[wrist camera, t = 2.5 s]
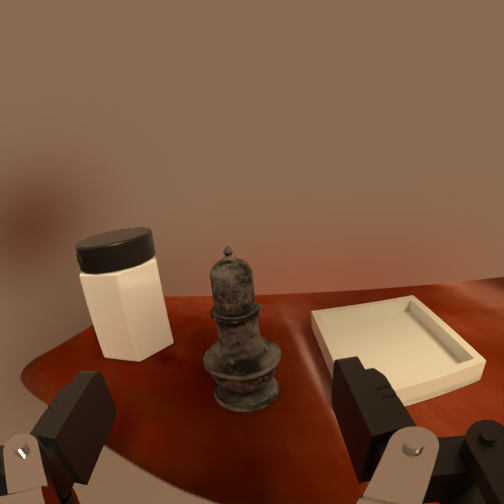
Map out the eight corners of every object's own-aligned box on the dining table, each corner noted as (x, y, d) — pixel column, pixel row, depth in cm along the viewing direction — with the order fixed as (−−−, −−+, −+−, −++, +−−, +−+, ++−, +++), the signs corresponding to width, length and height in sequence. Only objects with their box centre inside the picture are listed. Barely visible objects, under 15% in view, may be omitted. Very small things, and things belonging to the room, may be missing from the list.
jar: (105, 331, 35) (81, 236, 32) (167, 318, 38) (148, 223, 35) (102, 370, 27) (66, 253, 24) (179, 354, 30) (154, 236, 27)
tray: (411, 311, 32) (412, 295, 32) (479, 380, 19) (486, 360, 18) (311, 327, 32) (311, 310, 32) (348, 420, 19) (350, 400, 18)
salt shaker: (247, 361, 28) (231, 232, 25) (298, 385, 24) (291, 239, 20) (196, 392, 24) (166, 252, 21) (246, 426, 20) (221, 265, 17)
